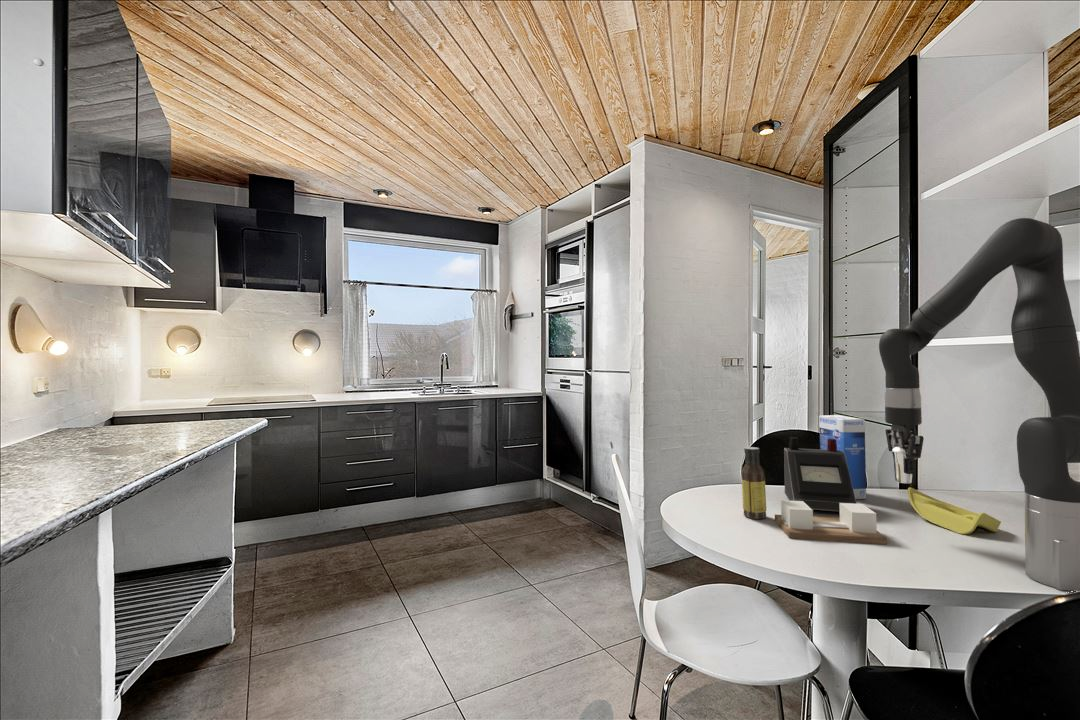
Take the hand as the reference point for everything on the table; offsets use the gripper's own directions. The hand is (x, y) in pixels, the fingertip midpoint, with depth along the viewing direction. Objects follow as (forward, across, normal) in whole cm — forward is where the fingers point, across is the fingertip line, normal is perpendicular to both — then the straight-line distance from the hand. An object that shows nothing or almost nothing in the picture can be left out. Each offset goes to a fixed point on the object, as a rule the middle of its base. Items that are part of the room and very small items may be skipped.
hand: (904, 471), depth 123 cm
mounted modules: (+15, -1, +19) cm, 24 cm away
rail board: (+16, -1, +19) cm, 25 cm away
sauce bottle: (+16, +8, +35) cm, 39 cm away
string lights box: (+16, +37, +1) cm, 40 cm away
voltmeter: (+16, +21, +14) cm, 30 cm away
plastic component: (+16, +12, -16) cm, 26 cm away
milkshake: (+3, 0, 0) cm, 3 cm away
